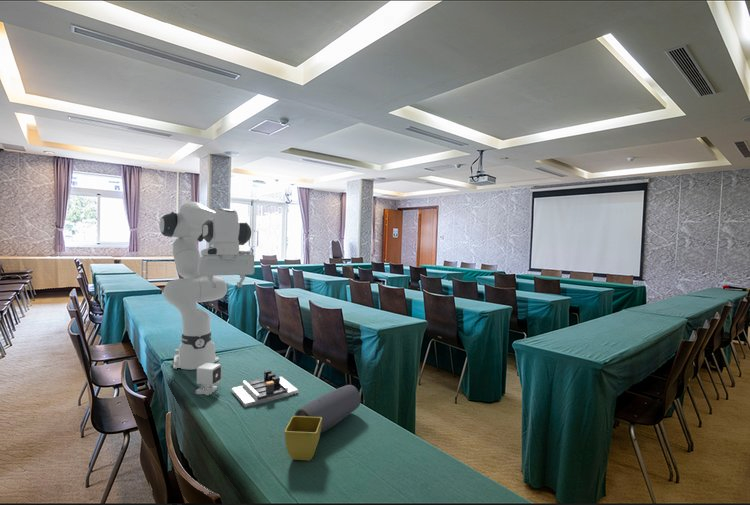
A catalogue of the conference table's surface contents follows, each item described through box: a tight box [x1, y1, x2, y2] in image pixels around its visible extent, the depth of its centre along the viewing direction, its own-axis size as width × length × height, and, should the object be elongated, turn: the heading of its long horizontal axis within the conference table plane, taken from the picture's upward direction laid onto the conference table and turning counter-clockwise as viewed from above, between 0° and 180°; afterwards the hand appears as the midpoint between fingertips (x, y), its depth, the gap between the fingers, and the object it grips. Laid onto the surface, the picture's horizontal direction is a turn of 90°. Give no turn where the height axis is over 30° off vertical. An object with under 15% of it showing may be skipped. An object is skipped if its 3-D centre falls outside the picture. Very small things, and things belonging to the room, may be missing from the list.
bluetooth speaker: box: [293, 384, 362, 433], centre depth 121 cm, size 23×9×10 cm, turn 145°
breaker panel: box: [231, 369, 299, 408], centre depth 143 cm, size 15×20×6 cm
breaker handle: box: [266, 381, 274, 393], centre depth 138 cm, size 2×2×4 cm
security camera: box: [195, 363, 223, 396], centre depth 143 cm, size 6×7×10 cm
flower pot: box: [284, 415, 322, 461], centre depth 105 cm, size 9×9×9 cm
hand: (226, 287), depth 143 cm, fingers open, 8 cm apart
